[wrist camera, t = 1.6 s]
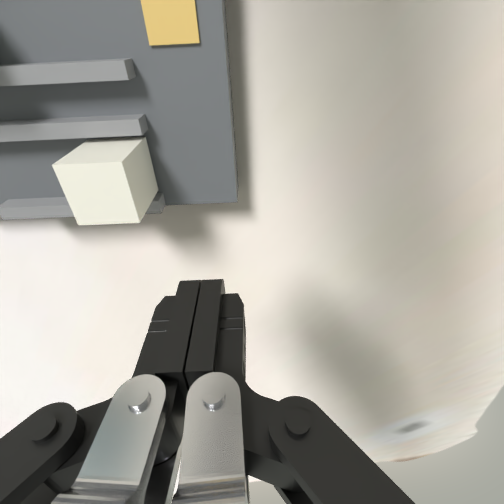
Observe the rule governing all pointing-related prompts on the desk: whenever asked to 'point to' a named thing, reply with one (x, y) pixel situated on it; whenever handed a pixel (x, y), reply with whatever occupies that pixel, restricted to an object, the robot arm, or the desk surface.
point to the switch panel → (115, 96)
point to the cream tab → (108, 180)
